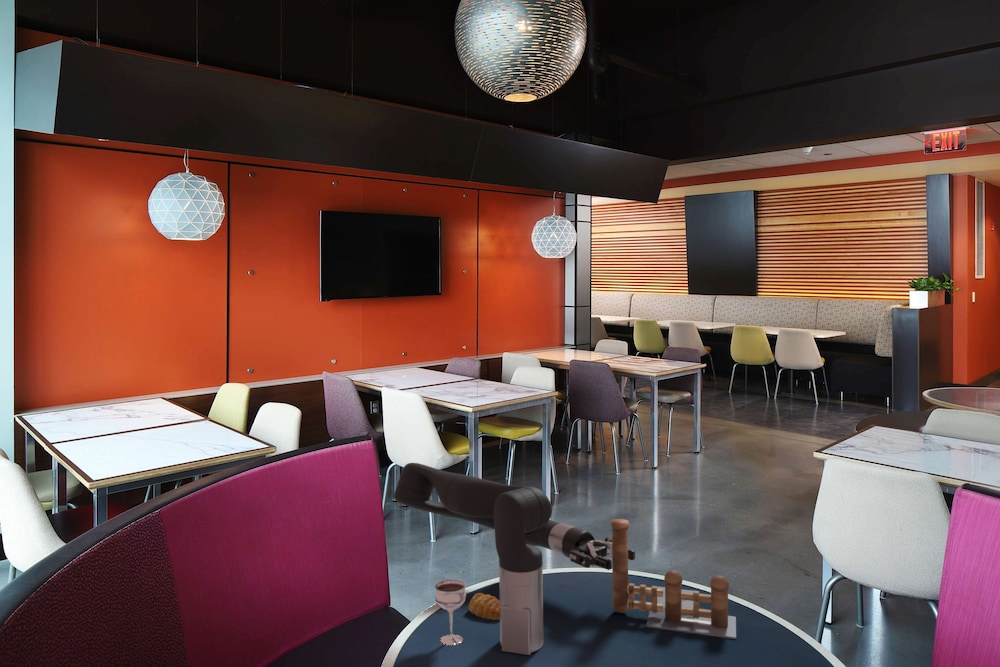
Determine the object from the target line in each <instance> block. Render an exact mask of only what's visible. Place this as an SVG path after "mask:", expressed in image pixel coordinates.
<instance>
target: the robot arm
mask: <svg viewBox="0 0 1000 667" xmlns="http://www.w3.org/2000/svg"><path fill="white" fill-rule="evenodd" d="M434 488H435V491H436V494H437V496H438V499H439V501H436V500H432V499H431V497H432V496H433V495H432V494H433V491H434ZM393 499H394V500H395V501H396V502H398V503H399V504H401V505H403V506H406V507H409V508H411V509H416V510H420V511H423V512H428V513H432V514H435V515H440V516H445V517H450V518H454V519H460V520H463V521H468V522H472V523H475V524H478V525H480V526H483V527H486V528H488V529H489V528H490V529H491V530H494V538H495V548H496V553H497V556H498V564H499V565H498V567H499V568H498V569H499V570H498V571H499V572H498V573H499V574H498V575H499V578H498V579H499V583H498V584H499V600H500V620H499V634H500V635H499V636H500V637H499V640H500V641H499V642H500V647H501V651H502V652H507V653H512V654H513V653H514V654H519V655H525V656H526V655H527V656H531V654H532V653H534V652H536V651H538V650H540V649H541V648H542V647H543V645H544V595H543V594H544V592H543V591H544V590H543V588H544V587H543V586H544V584H543V582H544V581H543V580H544V578H543V575H544V574H543V573H544V572H543V571H544V570H543V562H544V561H543V552H542V550H541V549H540V548H538V547H541V548H545V549H548V550H551V551H553V552H555V553H557V554H558V555H560V556H563V557H565V558H568V559H570V561H571V562H572V563H574V564H576V565H579V566H582V568H583V567H584V568H586V569H589V568H591V566H592V567H597V566H598V567H599V568H602V569H605V570H608V571H610V570H612V560H611V559H609V558H612V537H608V536H605V537H604V541H603V540H601V539H595V538H594V537H595V536H593V534H592V533H591V532H590V531H587V530H585V529H582V528H578V527H576V526H573V525H570V524H565V523H561V522H558V521H554V520H553V519H551V518H552V513H553V508H552V507H553V506H552V504H551V501H550V499H549V497H548V496H547V495H546V494H545V492H543V491H542V490H541V489H540V488H537V487H534V486H531V485H530V486H529V485H528V486H527V485H513V484H512V485H511V484H503V483H500V482H496V481H492V480H488V479H483V478H479V477H477V476H472V475H468V474H467V475H466V474H464V473H463V474H461V473H458V472H457V473H455V472H449V471H445V470H441V469H438V468H435V467H432V466H429V465H425V464H422V463H419V462H409V463H406V464H405V465H404V467H403V468H402V470H401V474H400V477H399V479H398V482H397V485H396V487H395V490H394V494H393ZM608 551H609V553H608ZM629 560H630V561H634V560H636V552H635V550H633V549H631V548H628V561H629Z"/></svg>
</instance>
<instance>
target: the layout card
mask: <svg viewBox="0 0 1000 667" xmlns="http://www.w3.org/2000/svg"><path fill="white" fill-rule="evenodd" d="M656 586H657V585H656ZM657 588H658V589H663V597H657V603H659V604H663V612H657V613H652V611H648V612H649V613H648V616H647V621H646V626H645V627H646V628H651V629H659V630H664V631H665V630H666V631H674V632H679V633H687V634H696V635H702V636H710V637H716V638H717V637H718V638H725V639H733V640H737V617H736V616H733V615H728V627H727V628H716V627H714V626H712V625H711V618H703V617H699V619H697V618H693V616H687V615H682V617H681V621H680V622H670V621H668V620H666V619H665V586H659V585H658V586H657ZM682 591H683V592H692V593H693V591H694V590H691V589H690V590H689V589H682ZM682 606H683V607H691V608H693V601H689V600H682Z"/></svg>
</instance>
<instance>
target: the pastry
mask: <svg viewBox="0 0 1000 667" xmlns="http://www.w3.org/2000/svg"><path fill="white" fill-rule="evenodd" d="M468 610H469V611H470V613H471V614H472V615H474V616H476V617H478V616H479V618H480V617H481V618H482V619H485V618H486V619H485V620H489V619H491V620H490V621H500V599H498V598H496V596H492V595H491V594H484V593H482V592H477V593H475V594H474V595H473V596H472V597H471V598H470V601H469V603H468Z"/></svg>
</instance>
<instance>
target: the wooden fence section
mask: <svg viewBox="0 0 1000 667" xmlns="http://www.w3.org/2000/svg"><path fill="white" fill-rule="evenodd" d="M610 523H611V524H610V527H611V533H612V534H611V538H612V557H611V558H612V560H611V561H612V569H611V570H612V583H611V586H612V587H611V588H612V589H611V590H612V591H611V592H612V610H613V611H614V612H616V613H627V612H628V611H629V610H630V611H634V610H639V611H640V612H646V611H648V612H650V611H652V613H657V612H663V604H659V603H657V597H663V589H658V588H657V585H652V586H651V587H648V586H647V585H646V584H643V583H642V584H641V583H640V585H639V586H638V585H635V583H631V582H629V559H628V549H629V528H630V522H629V520H627V519H623V518H614V519H612V520H611V521H610ZM635 595H639V600H635ZM647 596H650V597H651V602H649V601H647Z"/></svg>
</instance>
